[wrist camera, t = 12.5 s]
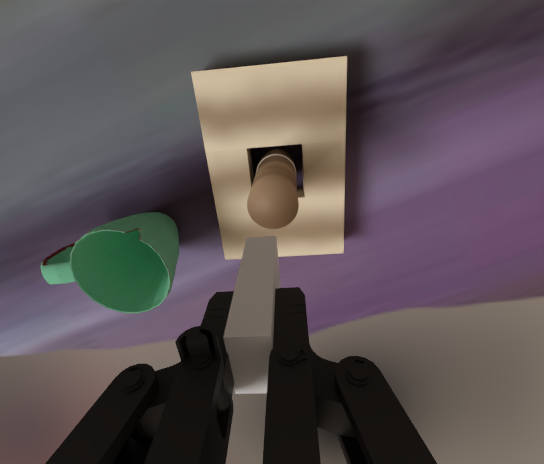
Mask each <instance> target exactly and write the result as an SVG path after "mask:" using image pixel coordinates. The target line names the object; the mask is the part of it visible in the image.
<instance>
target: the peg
mask: <svg viewBox="0 0 544 464" xmlns="http://www.w3.org/2000/svg"><path fill="white" fill-rule="evenodd" d="M298 208H299V203H298V193H297V182H296V168H295V162H294V159H293V157H292V156H291V154H290V153H288V152H287V151H285V150H283V149H278V148H276V149H271V150H269V151H267V152H266V153H265V154H264V155H263V156H262V158H261V160H260V163H259V164H258V167H257V170H256V175H255V178H254V181H253V184H252V187H251V190H250V193H249V196H248V200H247V209H248V213H249V215H250V217H251V218H252V220H253V221H254V222H255V223H257V224H258V225H260V226H261V227H264V228H267V229H279V228H282V227H285V226H287V225H288V224H290V223H291V222H292V221H293V220H294V218H295V217H296V215H297V212H298Z"/></svg>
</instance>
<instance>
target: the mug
mask: <svg viewBox="0 0 544 464" xmlns="http://www.w3.org/2000/svg"><path fill="white" fill-rule="evenodd" d="M178 255H179V237H178V229H177V226H176V224H175V222H174V221H173V220H172V219H171V218H170V217H169V216H167V215H165V214H163V213H160V212H148V213H140V214H136V215H131V216H128V217H124V218H121V219H118V220H115V221H112V222H109V223H107V224H104V225H102V226H100V227H97V228H94V229H93V230H91V231H90V232H88V233H87V234H86V235H84V236H83V237H82V238H80V239H79V240H78V241H76V243H74V244H71V245H68V246H66V247H63V248H61V249H60V250H58V251H56V252H55V253H53V254H52V255H50V256H48V257H47V258H45V259H44V260H43V261H42V263H41V271H42V275H43V277H44V279H45V280H46V281H47V282H48V283H49V284H63V283H70V282H75V281H76V282H77V284H78V285H79V287H80V288H81V289H82V291H83V292H84V293H85V294H87V295H88V296H89V297H90V298H91V299H92V300H94V301H95V302H97V303H99V304H101V305H102V306H104V307H106V308H108V309H112V310H115V311H119V312H122V313H141V312H146V311H150V310H152V309H154V308H155V307H157V306H159V305H160V304H161V303H162V302H163V301H164V300H165V298H166V297H167V296H168V294H169V292H170V290H171V287H172V283H173V279H174V275H175V268H176V263H177V259H178Z"/></svg>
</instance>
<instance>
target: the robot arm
mask: <svg viewBox="0 0 544 464" xmlns="http://www.w3.org/2000/svg"><path fill="white" fill-rule="evenodd" d="M176 345H177V348H178V352H179V355H180V358H181V362H179V363H178V364H176V365H173V366H171V367H167V368H164V369H161V370H158V371H154V369H153V368H152V366H150V365H148V364H136V365H133V366H130V367H128V368H127V369H125V370H123V371H122V372H121V373H120V374H119V375H118V376H117V377H116V378H115V379H114V380H113V381H112V383H111V384H110V385H109V386H108V387H107V389H106V390H105V391H104V392H103V394H102V395H101V396H100V397H99V399H98V400H97V401H96V402H95V403H94V405H93V406H92V407H91V408H90V409H89V411H88V412H87V413H86V414H85V416H84V417H83V418H82V419H81V421H80V422H79V423H78V424H77V425H76V427H75V428H74V429H73V430H72V432H71V433H70V434H69V435H68V437H67V438H66V439H65V440H64V441H63V443H62V444H61V445H60V447H59V448H58V449H57V450H56V451H55V453H54V454H53V455H52V456H51V457H50V459H49V460H48V461H47V462H46V464H225V463H226V457H227V450H228V442H229V436H230V430H231V423H232V416H233V401H232V393H233V387H234V388H235V393H236V394H251V393H267V401H266V417H265V434H264V451H263V464H320V453H319V443H318V431H317V427H319V428H322V429H325V430H327V431H330V432H333V433H336V435H337V438H338V440H339V443H340V446H341V449H342V451H343V454H344V457H345V459H346V462H347V464H437V463H436V461H435V459H434V458H433V456H432V454H431V453H430V451H429V450H428V448H427V446H426V445H425V443H424V441H423V440H422V438H421V437H420V435H419V433H418V432H417V430H416V429H415V427H414V425H413V424H412V422H411V420H410V419H409V417H408V416H407V414H406V412H405V410H404V409H403V407H402V406H401V404H400V403H399V401H398V399H397V397H396V396H395V394H394V393H393V391H392V389H391V388H390V386H389V384H388V383H387V381H386V379H385V378H384V376H383V375H382V373H381V371H380V370H379V369H378V367H377V366H376V365H375V364H374V363H373V362H371V361H369V360H368V359H366V358H363V357H359V356H349V357H346V358H344V359H342V360H341V361H340V362H339V363H336V362H332V361H328V360H325V359H323V358H321V357H319V356H318V355H316V354H315V353H314V352H313V350H312V349H311V347H310V344H309V337H308V326H307V315H306V304H305V295H304V293H303V292H302V291H301V289H300V288H299V287H296V288H280V271H279V261H278V250H277V239H276V236H264V237H247V238H246V242H245V246H244V251H243V255H242V259H241V264H240V268H239V272H238V276H237V281H236V285H235V289H234V291H230V292H216V293H215V294H214V296H213V297H212V298H211V299H210V300H209V302H208V305H207V308H206V311H205V314H204V319H203V320H202V323H201V326H197V327H193V328H190V329H188V330H186V331H185V332H184V333H182V334H181V335H180V336H179V337H178V339H177V340H176Z"/></svg>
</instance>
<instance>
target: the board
mask: <svg viewBox="0 0 544 464" xmlns="http://www.w3.org/2000/svg"><path fill="white" fill-rule="evenodd" d="M191 74H192V80H193V85H194V91H195V96H196V102H197V107H198V113H199V118H200V124H201V129H202V135H203V140H204V146H205V151H206V157H207V162H208V168H209V173H210V179H211V184H212V190H213V195H214V200H215V206H216V211H217V217H218V222H219V228H220V233H221V239H222V244H223V250H224V255H225V260H226V259H242V255H243V251H244V246H245V242H246V238H247V237H264V236H276V239H277V250H278V257H281V256H300V255H319V254H337V253H344V198H345V143H346V89H347V56H341V57H332V58H322V59H312V60H303V61H293V62H283V63H274V64H264V65H254V66H244V67H235V68H225V69H215V70H206V71H196V72H191ZM296 144H301V145H302V168H303V188H302V189H297V193H298V203H299V208H298V212H297V215H296V217H295V218H294V220H293V221H292V222H291V223H290V224H288V225H287V226H285V227H282V228H279V229H267V228H264V227H261V226H260V225H258V224H257V223H255V222H254V221H253V220H252V218H251V217H250V215H249V213H248V209H247V200H248V196H249V193H250V190H251V187H252V184H253V181H254V175H253V166H252V158H251V149H250V148H259V147H271V146H283V145H296Z"/></svg>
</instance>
